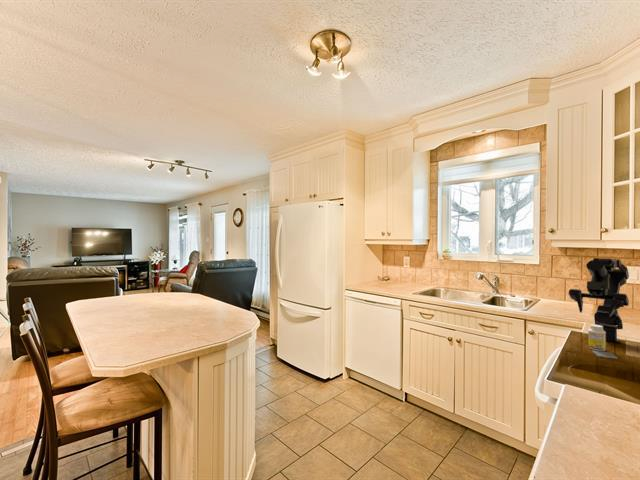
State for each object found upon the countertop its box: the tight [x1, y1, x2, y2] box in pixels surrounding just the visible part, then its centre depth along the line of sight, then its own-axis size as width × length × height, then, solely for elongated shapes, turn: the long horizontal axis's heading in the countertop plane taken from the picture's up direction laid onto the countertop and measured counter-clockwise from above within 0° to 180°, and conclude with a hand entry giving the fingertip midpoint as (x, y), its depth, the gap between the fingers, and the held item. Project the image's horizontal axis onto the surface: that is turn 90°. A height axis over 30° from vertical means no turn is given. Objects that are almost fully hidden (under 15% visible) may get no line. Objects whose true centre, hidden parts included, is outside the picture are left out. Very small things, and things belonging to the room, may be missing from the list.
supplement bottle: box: [587, 323, 607, 352], centre depth 129 cm, size 6×6×10 cm
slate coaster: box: [591, 349, 619, 360], centre depth 123 cm, size 6×6×1 cm
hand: (594, 314), depth 128 cm, fingers open, 9 cm apart
